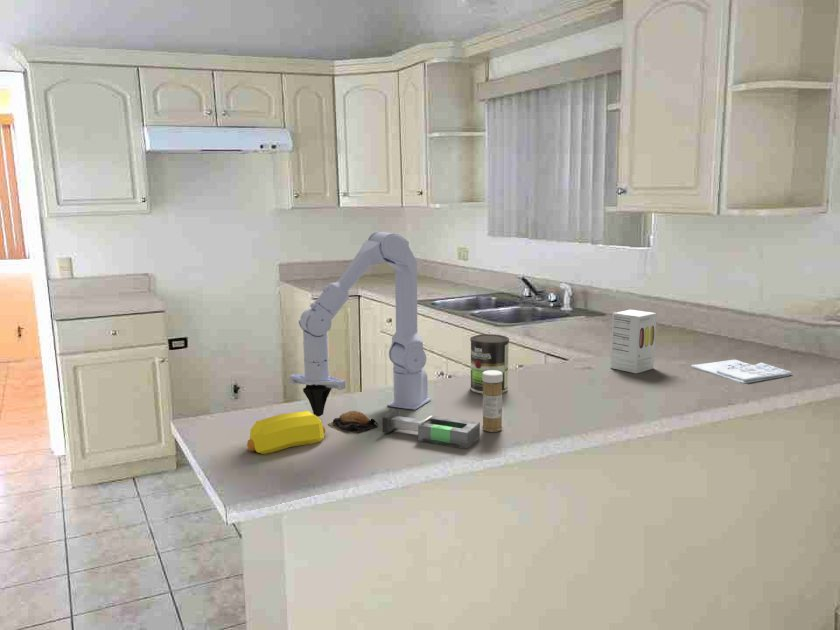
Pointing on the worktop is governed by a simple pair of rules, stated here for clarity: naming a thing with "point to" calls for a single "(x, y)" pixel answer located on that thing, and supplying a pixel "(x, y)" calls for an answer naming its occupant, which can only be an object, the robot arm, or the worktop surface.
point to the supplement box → (633, 341)
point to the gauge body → (449, 432)
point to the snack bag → (742, 371)
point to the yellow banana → (285, 432)
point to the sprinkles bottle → (492, 400)
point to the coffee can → (488, 359)
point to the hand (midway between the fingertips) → (318, 415)
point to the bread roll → (354, 422)
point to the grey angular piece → (401, 422)
